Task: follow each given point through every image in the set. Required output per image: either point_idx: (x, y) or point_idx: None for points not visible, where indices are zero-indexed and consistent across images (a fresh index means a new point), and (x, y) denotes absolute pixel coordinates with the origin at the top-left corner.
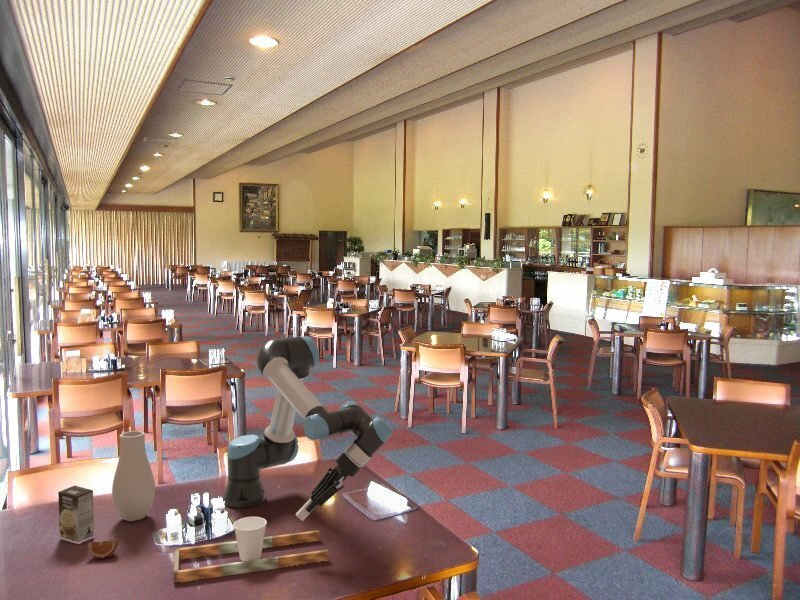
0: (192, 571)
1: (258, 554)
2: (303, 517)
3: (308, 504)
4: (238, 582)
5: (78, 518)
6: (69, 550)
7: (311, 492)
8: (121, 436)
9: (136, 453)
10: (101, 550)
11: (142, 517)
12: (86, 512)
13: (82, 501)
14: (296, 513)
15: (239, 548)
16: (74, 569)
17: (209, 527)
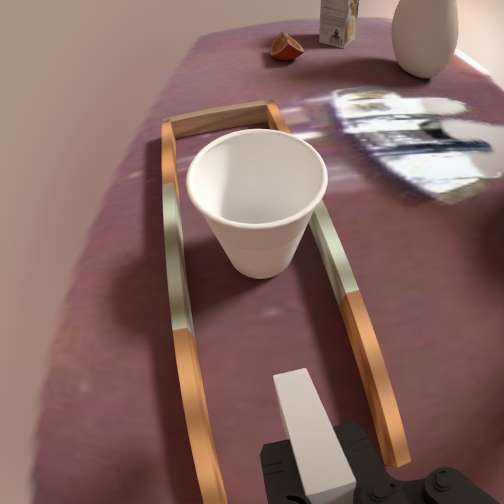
0: (162, 142)
1: (237, 266)
2: (283, 422)
3: (297, 463)
4: (128, 242)
5: (321, 10)
6: (303, 40)
7: (445, 470)
8: None
9: None
10: (276, 46)
11: (411, 72)
12: (334, 9)
13: None
14: (302, 373)
15: (234, 201)
16: (247, 49)
17: (424, 149)
